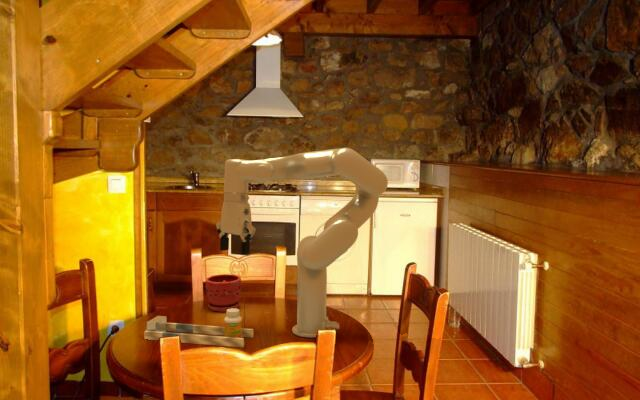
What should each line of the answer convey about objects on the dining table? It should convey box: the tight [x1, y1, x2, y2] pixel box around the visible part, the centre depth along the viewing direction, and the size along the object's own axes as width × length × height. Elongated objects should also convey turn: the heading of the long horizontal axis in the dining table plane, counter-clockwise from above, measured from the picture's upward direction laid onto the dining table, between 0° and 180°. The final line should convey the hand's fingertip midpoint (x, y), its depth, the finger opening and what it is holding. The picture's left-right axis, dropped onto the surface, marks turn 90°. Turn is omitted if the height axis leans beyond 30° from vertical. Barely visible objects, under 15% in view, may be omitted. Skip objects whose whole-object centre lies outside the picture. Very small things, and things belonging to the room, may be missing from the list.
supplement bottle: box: [223, 308, 243, 338], centre depth 159 cm, size 5×5×10 cm
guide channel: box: [143, 315, 254, 348], centre depth 161 cm, size 32×10×5 cm, turn 79°
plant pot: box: [205, 273, 242, 313], centre depth 194 cm, size 13×13×12 cm
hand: (234, 252), depth 163 cm, fingers open, 9 cm apart
